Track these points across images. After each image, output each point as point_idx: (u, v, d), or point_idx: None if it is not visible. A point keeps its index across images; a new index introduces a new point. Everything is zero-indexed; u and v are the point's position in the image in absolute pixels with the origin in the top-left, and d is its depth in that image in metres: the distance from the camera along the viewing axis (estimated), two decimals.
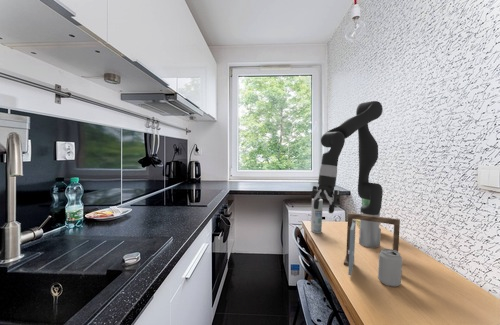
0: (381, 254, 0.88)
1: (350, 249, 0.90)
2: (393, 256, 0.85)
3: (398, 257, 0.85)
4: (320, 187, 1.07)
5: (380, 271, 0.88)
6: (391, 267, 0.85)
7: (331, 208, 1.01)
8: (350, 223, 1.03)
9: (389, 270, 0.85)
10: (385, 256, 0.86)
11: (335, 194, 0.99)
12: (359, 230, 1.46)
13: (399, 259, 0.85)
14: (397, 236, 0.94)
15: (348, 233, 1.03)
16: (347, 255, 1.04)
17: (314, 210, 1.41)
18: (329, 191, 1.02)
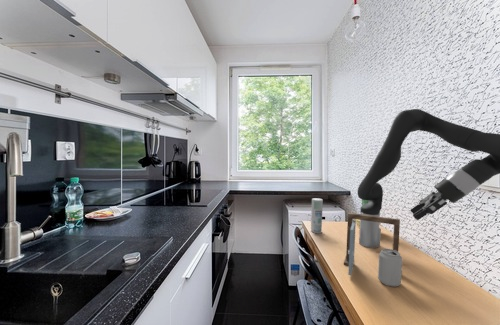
0: (381, 254, 0.88)
1: (350, 249, 0.90)
2: (393, 256, 0.85)
3: (398, 257, 0.85)
4: None
5: (380, 271, 0.88)
6: (391, 267, 0.85)
7: None
8: (350, 223, 1.03)
9: (389, 270, 0.85)
10: (385, 256, 0.86)
11: None
12: (359, 230, 1.46)
13: (399, 259, 0.85)
14: (397, 236, 0.94)
15: (348, 233, 1.03)
16: (347, 255, 1.04)
17: (314, 210, 1.41)
18: None
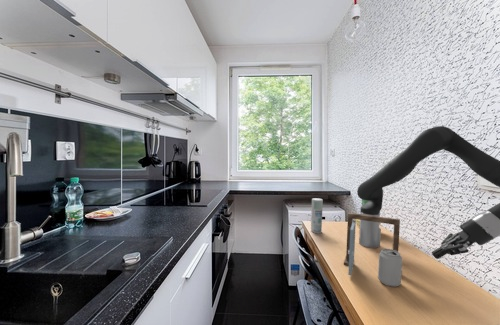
0: (381, 254, 0.88)
1: (350, 249, 0.90)
2: (393, 256, 0.85)
3: (398, 257, 0.85)
4: None
5: (380, 271, 0.88)
6: (391, 267, 0.85)
7: None
8: (350, 223, 1.03)
9: (389, 270, 0.85)
10: (385, 256, 0.86)
11: None
12: (359, 230, 1.46)
13: (399, 259, 0.85)
14: (397, 236, 0.94)
15: (348, 233, 1.03)
16: (347, 255, 1.04)
17: (314, 210, 1.41)
18: None
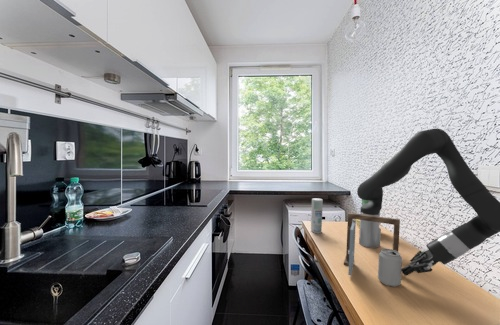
0: (381, 254, 0.88)
1: (350, 249, 0.90)
2: (393, 256, 0.85)
3: (398, 257, 0.85)
4: None
5: (380, 271, 0.88)
6: (390, 267, 0.85)
7: None
8: (350, 223, 1.03)
9: (389, 270, 0.85)
10: (385, 256, 0.86)
11: None
12: (359, 230, 1.46)
13: (399, 259, 0.85)
14: (397, 236, 0.94)
15: (348, 233, 1.03)
16: (347, 255, 1.04)
17: (314, 210, 1.41)
18: None
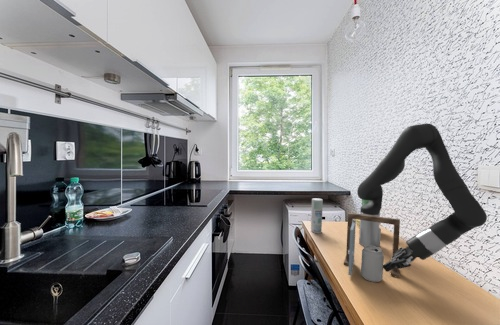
0: (363, 250, 0.91)
1: (350, 249, 0.90)
2: (374, 252, 0.88)
3: (379, 253, 0.88)
4: None
5: (362, 267, 0.91)
6: (372, 263, 0.88)
7: None
8: (350, 223, 1.03)
9: (370, 266, 0.88)
10: (367, 252, 0.89)
11: None
12: (359, 230, 1.46)
13: (380, 255, 0.87)
14: (397, 236, 0.94)
15: (348, 233, 1.03)
16: (347, 255, 1.04)
17: (314, 210, 1.41)
18: None
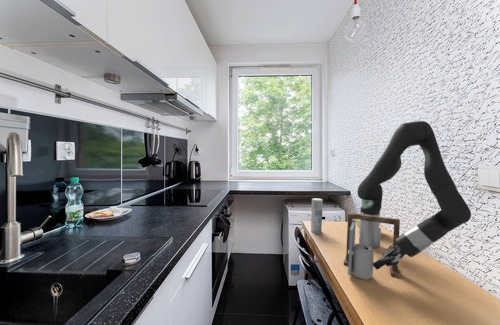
0: (354, 249, 0.93)
1: (350, 249, 0.90)
2: (364, 250, 0.89)
3: (369, 251, 0.89)
4: None
5: (353, 265, 0.92)
6: (362, 261, 0.89)
7: None
8: (350, 223, 1.03)
9: (360, 263, 0.90)
10: (357, 250, 0.91)
11: None
12: (359, 230, 1.46)
13: (370, 253, 0.89)
14: (397, 236, 0.94)
15: (348, 233, 1.03)
16: (347, 255, 1.04)
17: (314, 210, 1.41)
18: None
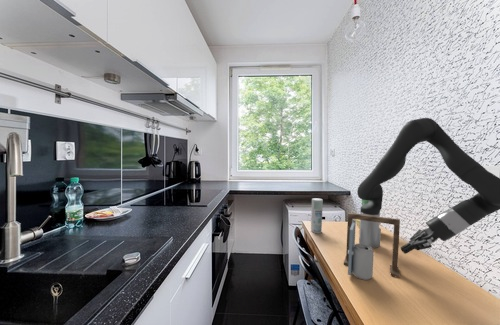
0: (354, 249, 0.93)
1: (350, 249, 0.90)
2: (364, 250, 0.89)
3: (369, 251, 0.89)
4: None
5: (353, 265, 0.93)
6: (362, 261, 0.89)
7: None
8: (350, 223, 1.03)
9: (360, 264, 0.90)
10: (357, 250, 0.91)
11: None
12: (359, 230, 1.46)
13: (370, 253, 0.89)
14: (397, 236, 0.94)
15: (348, 233, 1.03)
16: (347, 255, 1.04)
17: (314, 210, 1.41)
18: None
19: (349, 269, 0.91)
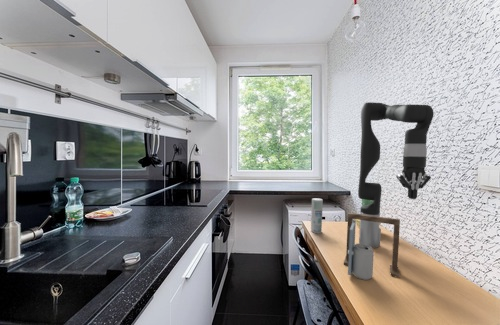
0: (354, 249, 0.93)
1: (350, 249, 0.90)
2: (364, 250, 0.89)
3: (369, 251, 0.89)
4: (408, 169, 0.92)
5: (353, 265, 0.93)
6: (362, 261, 0.89)
7: (416, 193, 0.93)
8: (350, 223, 1.03)
9: (360, 264, 0.90)
10: (357, 250, 0.91)
11: (427, 180, 0.92)
12: (359, 230, 1.46)
13: (370, 253, 0.89)
14: (397, 236, 0.94)
15: (348, 233, 1.03)
16: (347, 255, 1.04)
17: (314, 210, 1.41)
18: (422, 176, 0.92)
19: (349, 269, 0.91)
